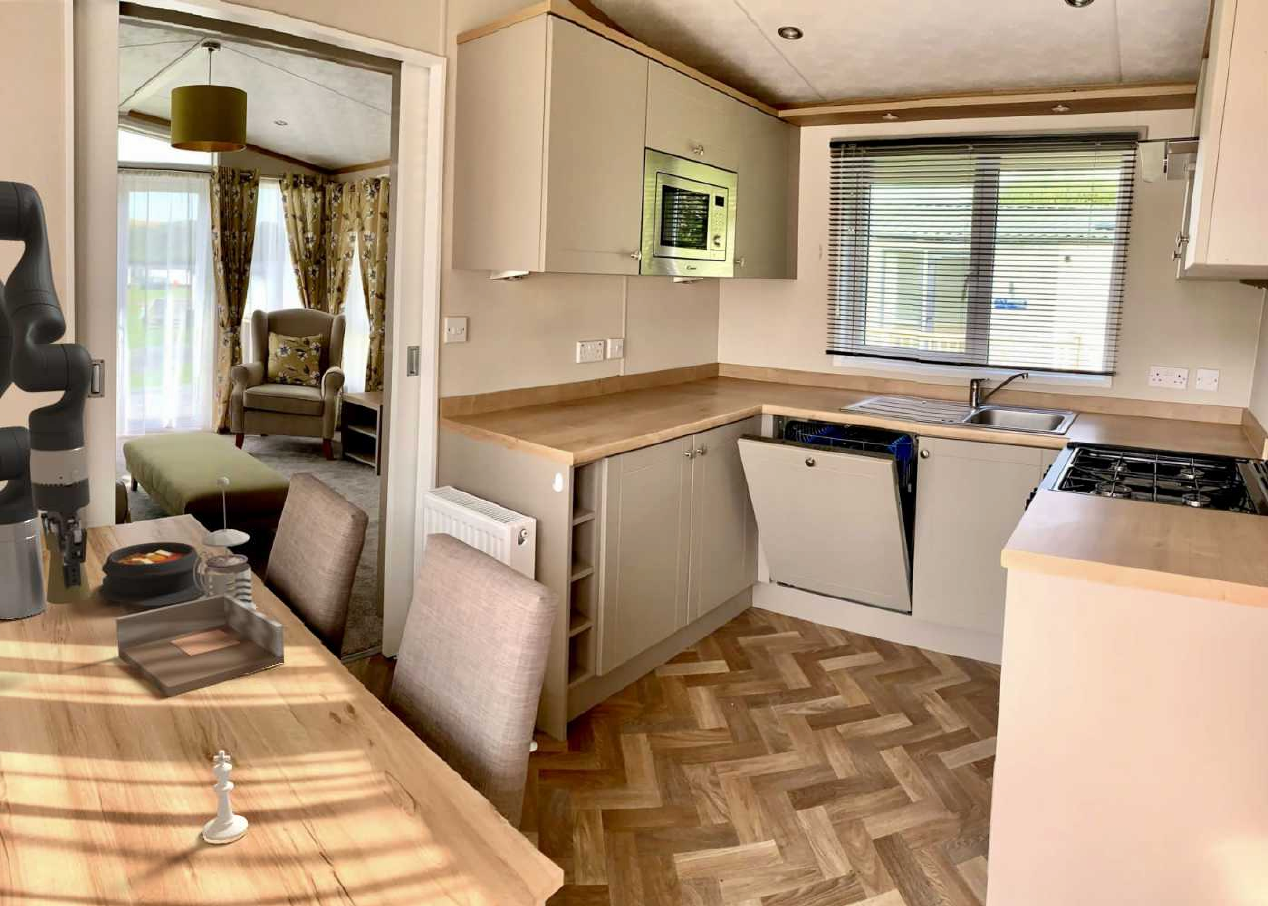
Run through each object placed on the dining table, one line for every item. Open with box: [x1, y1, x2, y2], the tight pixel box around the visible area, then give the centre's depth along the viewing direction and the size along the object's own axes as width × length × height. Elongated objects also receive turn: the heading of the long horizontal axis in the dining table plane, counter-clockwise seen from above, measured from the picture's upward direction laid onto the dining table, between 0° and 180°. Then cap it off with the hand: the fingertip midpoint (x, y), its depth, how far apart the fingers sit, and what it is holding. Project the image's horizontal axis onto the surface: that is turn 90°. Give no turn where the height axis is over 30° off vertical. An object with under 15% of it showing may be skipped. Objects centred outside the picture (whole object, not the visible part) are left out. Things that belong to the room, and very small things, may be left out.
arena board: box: [115, 593, 285, 698], centre depth 157 cm, size 20×18×6 cm
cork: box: [44, 531, 92, 605], centre depth 151 cm, size 6×6×11 cm
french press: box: [193, 477, 258, 610], centre depth 176 cm, size 10×12×25 cm
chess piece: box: [202, 750, 249, 841], centre depth 111 cm, size 5×5×10 cm
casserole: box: [98, 541, 205, 609], centre depth 186 cm, size 25×19×8 cm
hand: (67, 583), depth 152 cm, fingers closed on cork, 4 cm apart
